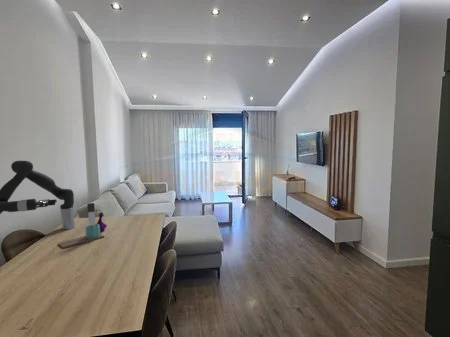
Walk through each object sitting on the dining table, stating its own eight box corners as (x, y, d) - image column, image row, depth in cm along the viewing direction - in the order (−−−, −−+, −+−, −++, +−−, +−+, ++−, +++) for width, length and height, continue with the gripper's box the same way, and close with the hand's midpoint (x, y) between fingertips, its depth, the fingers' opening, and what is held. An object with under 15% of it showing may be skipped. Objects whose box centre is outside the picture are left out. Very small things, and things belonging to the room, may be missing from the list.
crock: (84, 236, 192) (83, 226, 191) (97, 233, 198) (96, 223, 198) (89, 239, 186) (88, 228, 185) (102, 235, 192) (101, 225, 192)
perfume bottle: (107, 229, 211) (105, 207, 209) (102, 232, 203) (100, 210, 202) (98, 229, 212) (97, 207, 210) (93, 232, 204) (91, 210, 202)
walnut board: (58, 244, 180) (57, 243, 180) (97, 233, 200) (97, 232, 200) (63, 248, 172) (63, 247, 172) (104, 237, 192) (104, 236, 192)
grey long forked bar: (89, 234, 192) (87, 203, 190) (96, 233, 194) (94, 202, 192) (89, 236, 189) (87, 204, 187) (96, 235, 191) (94, 203, 189)
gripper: (24, 201, 165) (54, 198, 173) (28, 197, 177) (56, 195, 185) (25, 212, 166) (55, 209, 173) (29, 208, 178) (57, 205, 186)
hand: (55, 202), depth 179 cm, fingers open, 8 cm apart
